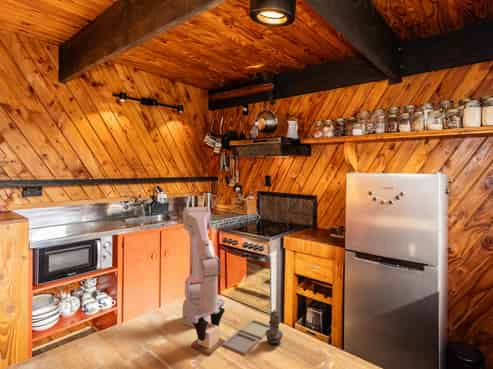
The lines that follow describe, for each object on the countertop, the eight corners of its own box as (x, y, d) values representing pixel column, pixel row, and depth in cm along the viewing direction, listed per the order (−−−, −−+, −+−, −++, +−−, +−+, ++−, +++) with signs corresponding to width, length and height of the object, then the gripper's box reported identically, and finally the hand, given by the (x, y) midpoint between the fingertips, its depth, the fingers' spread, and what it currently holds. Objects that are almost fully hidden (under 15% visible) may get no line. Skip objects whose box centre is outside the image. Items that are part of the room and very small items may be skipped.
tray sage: (239, 331, 107) (239, 329, 107) (252, 321, 114) (252, 318, 114) (261, 339, 102) (261, 337, 102) (273, 328, 109) (273, 325, 109)
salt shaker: (281, 350, 96) (282, 314, 96) (264, 347, 98) (264, 312, 97) (283, 339, 102) (284, 306, 101) (266, 337, 103) (267, 304, 102)
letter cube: (197, 343, 97) (197, 328, 97) (207, 336, 102) (207, 321, 101) (209, 348, 95) (209, 333, 94) (218, 341, 99) (219, 326, 99)
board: (190, 346, 97) (190, 344, 97) (206, 335, 104) (206, 332, 104) (209, 355, 93) (209, 352, 93) (224, 343, 100) (224, 340, 100)
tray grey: (222, 346, 98) (222, 343, 98) (237, 333, 105) (237, 331, 105) (245, 356, 93) (245, 353, 93) (259, 342, 101) (259, 339, 101)
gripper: (203, 306, 89) (203, 349, 90) (231, 289, 101) (230, 328, 102) (186, 300, 93) (186, 342, 94) (215, 285, 105) (214, 322, 106)
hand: (208, 334), depth 98 cm, fingers open, 6 cm apart
